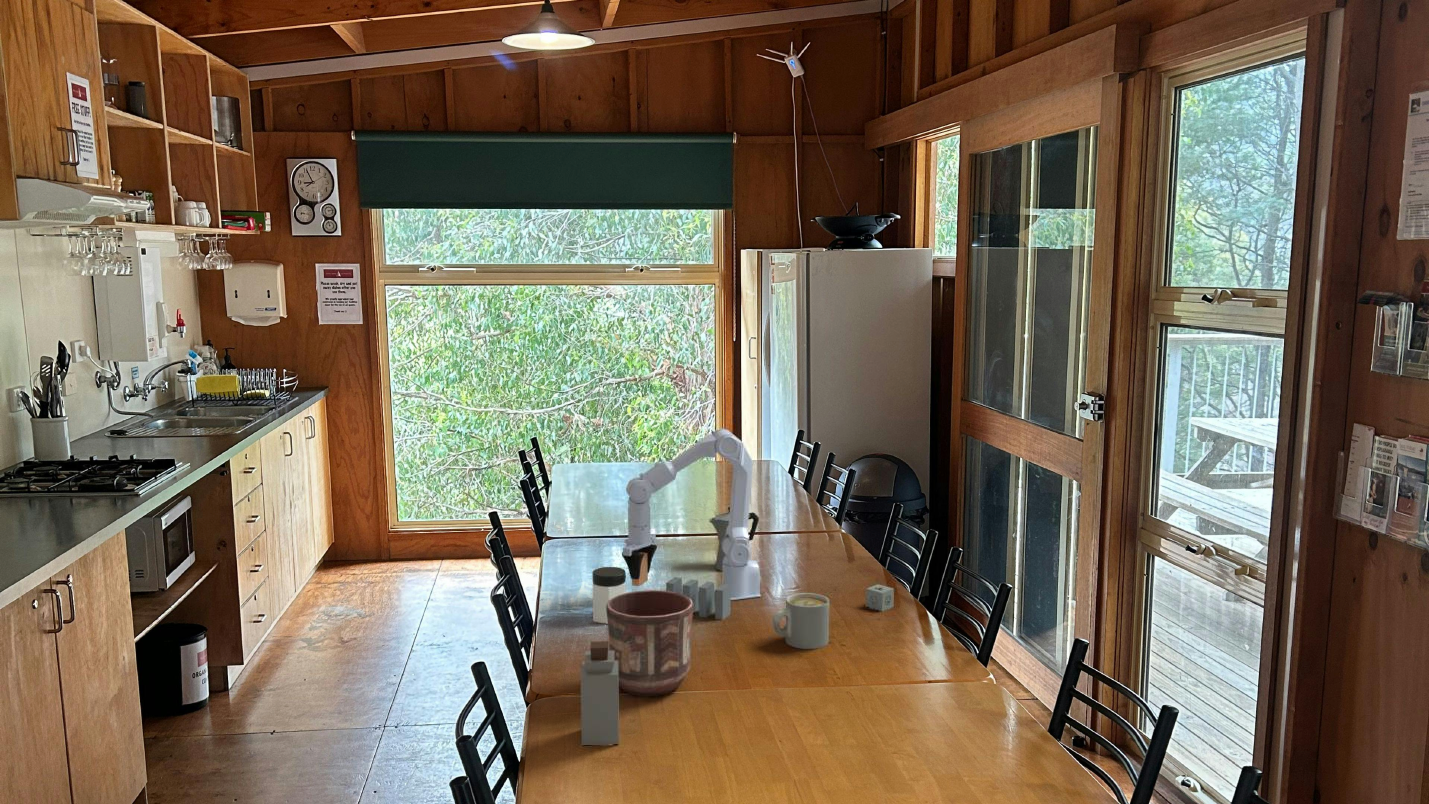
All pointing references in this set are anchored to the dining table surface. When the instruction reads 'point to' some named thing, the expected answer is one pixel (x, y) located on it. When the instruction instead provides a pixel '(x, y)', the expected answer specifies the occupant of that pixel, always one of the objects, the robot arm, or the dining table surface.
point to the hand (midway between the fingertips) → (640, 575)
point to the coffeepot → (721, 525)
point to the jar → (606, 589)
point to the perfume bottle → (599, 696)
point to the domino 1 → (642, 571)
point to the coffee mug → (804, 621)
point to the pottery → (650, 640)
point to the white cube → (880, 597)
